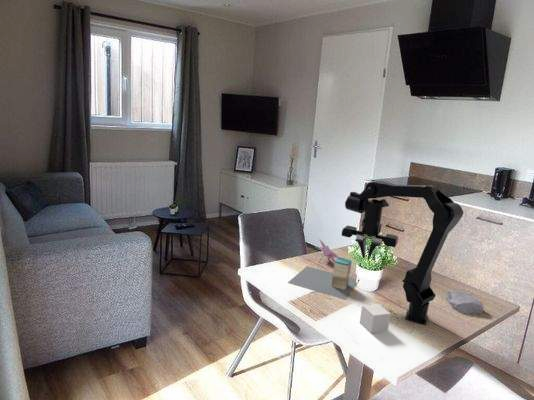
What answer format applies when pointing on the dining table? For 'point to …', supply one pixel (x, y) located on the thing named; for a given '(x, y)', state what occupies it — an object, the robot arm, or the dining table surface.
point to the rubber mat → (321, 282)
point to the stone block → (464, 302)
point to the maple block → (341, 273)
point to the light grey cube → (374, 318)
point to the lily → (327, 252)
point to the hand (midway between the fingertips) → (366, 258)
